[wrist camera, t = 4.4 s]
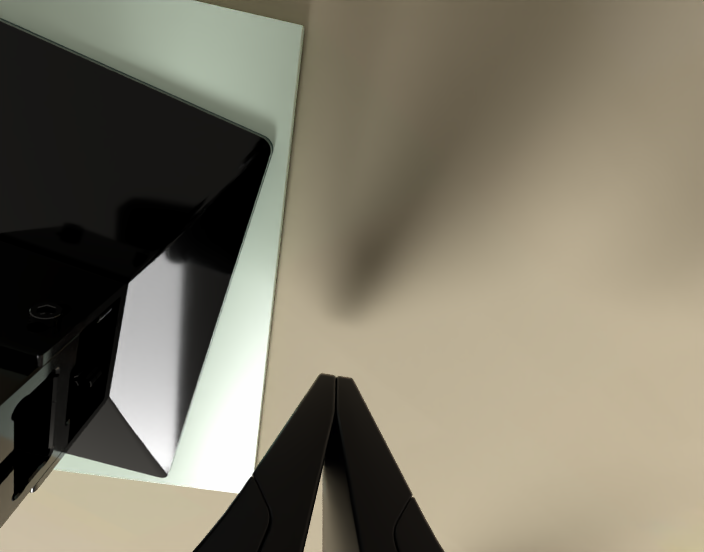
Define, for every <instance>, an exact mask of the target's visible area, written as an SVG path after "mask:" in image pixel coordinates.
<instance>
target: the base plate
mask: <svg viewBox="0 0 704 552" xmlns="http://www.w3.org/2000/svg"><path fill="white" fill-rule="evenodd" d="M0 18H3V19H5V20H7V21H9V22H12V23H14V24H16V25H18V26H20V27H23V28H25V29H27V30H29V31H32V32H34V33H36V34H38V35H41V36H43V37H45V38H47V39H50V40H52V41H54V42H56V43H59V44H61V45H63V46H65V47H68V48H70V49H72V50H74V51H76V52H79V53H81V54H83V55H85V56H88V57H90V58H92V59H94V60H97V61H99V62H101V63H103V64H106V65H108V66H110V67H112V68H115V69H117V70H119V71H121V72H123V73H126V74H128V75H130V76H132V77H135V78H137V79H139V80H141V81H144V82H146V83H148V84H150V85H153V86H155V87H157V88H159V89H162V90H164V91H166V92H168V93H170V94H173V95H175V96H177V97H179V98H182V99H184V100H186V101H188V102H191V103H193V104H195V105H197V106H200V107H202V108H204V109H206V110H209V111H211V112H213V113H215V114H218V115H220V116H222V117H224V118H226V119H229V120H231V121H233V122H235V123H238V124H240V125H242V126H244V127H247V128H249V129H251V130H253V131H256V132H258V133H260V134H262V135H265V136H266V137H268V138H269V139H270V140H271V142H272V144H273V148H274V149H273V154H272V157H271V160H270V164H269V167H268V170H267V173H266V176H265V179H264V182H263V185H262V188H261V191H260V195H259V198H258V201H257V204H256V207H255V210H254V213H253V216H252V219H251V222H250V226H249V229H248V232H247V235H246V238H245V241H244V244H243V247H242V250H241V253H240V257H239V260H238V263H237V266H236V269H235V272H234V275H233V278H232V281H231V284H230V288H229V291H228V294H227V297H226V300H225V303H224V306H223V309H222V312H221V315H220V319H219V322H218V325H217V328H216V331H215V334H214V337H213V340H212V343H211V346H210V350H209V353H208V356H207V359H206V362H205V365H204V368H203V371H202V374H201V377H200V381H199V384H198V387H197V390H196V393H195V396H194V399H193V402H192V405H191V408H190V412H189V415H188V418H187V421H186V424H185V427H184V430H183V433H182V436H181V439H180V443H179V446H178V449H177V452H176V455H175V458H174V461H173V464H172V467H171V470H170V472H169V474H168V476H167V477H165V478H159V477H155V476H151V475H147V474H143V473H139V472H135V471H132V470H128V469H124V468H120V467H116V466H112V465H108V464H105V463H101V462H97V461H93V460H89V459H85V458H81V457H78V456H74V455H70V454H65V455H64V456H63V458H62V459H61V460H60V461H59V463H58V464H57V465H56V466H55V468H54V469H53V470H59V471H67V472H75V473H82V474H90V475H98V476H106V477H114V478H122V479H129V480H137V481H145V482H153V483H161V484H169V485H176V486H184V487H192V488H200V489H208V490H216V491H223V492H231V493H239V492H240V491H241V489H242V488H243V486H244V485H245V483H246V482H247V481H248V479H249V478H250V477H251V476H252V474H253V472H254V471H255V466H256V457H257V448H258V439H259V430H260V421H261V412H262V403H263V394H264V385H265V376H266V368H267V359H268V350H269V341H270V332H271V323H272V314H273V305H274V296H275V287H276V278H277V269H278V260H279V251H280V242H281V233H282V224H283V215H284V206H285V197H286V188H287V179H288V170H289V161H290V152H291V143H292V134H293V126H294V117H295V108H296V99H297V90H298V81H299V72H300V63H301V54H302V45H303V36H304V27H303V25H299V24H294V23H290V22H286V21H281V20H277V19H273V18H268V17H264V16H260V15H255V14H251V13H247V12H242V11H238V10H234V9H229V8H225V7H221V6H216V5H212V4H208V3H203V2H199V1H195V0H0Z"/></svg>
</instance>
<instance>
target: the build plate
mask: <svg viewBox="0 0 704 552" xmlns="http://www.w3.org/2000/svg"><path fill="white" fill-rule="evenodd" d="M273 149H274V148H273V144H272V142H271V140H270V139H269V138H268V137H266V136H265V135H262V134H260V133H258V132H256V131H253V130H251V129H249V128H247V127H244V126H242V125H240V124H238V123H235V122H233V121H231V120H229V119H226V118H224V117H222V116H220V115H218V114H215V113H213V112H211V111H209V110H206V109H204V108H202V107H200V106H197V105H195V104H193V103H191V102H188V101H186V100H184V99H182V98H179V97H177V96H175V95H173V94H170V93H168V92H166V91H164V90H162V89H159V88H157V87H155V86H153V85H150V84H148V83H146V82H144V81H141V80H139V79H137V78H135V77H132V76H130V75H128V74H126V73H123V72H121V71H119V70H117V69H115V68H112V67H110V66H108V65H106V64H103V63H101V62H99V61H97V60H94V59H92V58H90V57H88V56H85V55H83V54H81V53H79V52H76V51H74V50H72V49H70V48H68V47H65V46H63V45H61V44H59V43H56V42H54V41H52V40H50V39H47V38H45V37H43V36H41V35H38V34H36V33H34V32H32V31H29V30H27V29H25V28H23V27H20V26H18V25H16V24H14V23H12V22H9V21H7V20H5V19H3V18H0V528H1V527H2V526H3V524H4V523H5V522H6V521H7V519H8V518H9V517H10V516H11V514H12V513H13V512H14V511H15V509H16V508H17V507H18V506H19V504H20V503H21V502H22V501H23V499H24V498H25V497H26V496H27V494H28V493H29V492H35V491H36V490H37V489H38V488H39V487H40V485H41V484H42V483H43V482H44V480H45V479H46V478H47V477H48V475H49V474H50V473H51V471H52V470H53V469H54V468H55V466H56V465H57V464H58V463H59V461H60V460H61V459H62V458H63V456H64V455H65V454H70V455H74V456H78V457H81V458H85V459H89V460H93V461H97V462H101V463H105V464H108V465H112V466H116V467H120V468H124V469H128V470H132V471H135V472H139V473H143V474H147V475H151V476H155V477H159V478H165V477H167V476H168V474H169V472H170V470H171V467H172V464H173V461H174V458H175V455H176V452H177V449H178V446H179V443H180V439H181V436H182V433H183V430H184V427H185V424H186V421H187V418H188V415H189V412H190V408H191V405H192V402H193V399H194V396H195V393H196V390H197V387H198V384H199V381H200V377H201V374H202V371H203V368H204V365H205V362H206V359H207V356H208V353H209V350H210V346H211V343H212V340H213V337H214V334H215V331H216V328H217V325H218V322H219V319H220V315H221V312H222V309H223V306H224V303H225V300H226V297H227V294H228V291H229V288H230V284H231V281H232V278H233V275H234V272H235V269H236V266H237V263H238V260H239V257H240V253H241V250H242V247H243V244H244V241H245V238H246V235H247V232H248V229H249V226H250V222H251V219H252V216H253V213H254V210H255V207H256V204H257V201H258V198H259V195H260V191H261V188H262V185H263V182H264V179H265V176H266V173H267V170H268V167H269V164H270V160H271V157H272V154H273Z"/></svg>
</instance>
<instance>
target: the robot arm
mask: <svg viewBox="0 0 704 552" xmlns="http://www.w3.org/2000/svg"><path fill="white" fill-rule="evenodd" d="M322 469H323V552H444V550H443V549H442V547H441V545H440V544H439V542H438V540H437V539H436V537H435V535H434V533H433V532H432V530H431V528H430V526H429V524H428V523H427V521H426V519H425V517H424V515H423V513H422V512H421V510H420V508H419V506H418V504H417V502H416V500H415V498H414V497H412V492H411V490H410V488H409V487H408V485H407V483H406V481H405V479H404V477H403V475H402V473H401V471H400V469H399V467H398V465H397V463H396V461H395V459H394V457H393V456H392V454H391V452H390V450H389V448H388V446H387V444H386V442H385V440H384V438H383V436H382V434H381V432H380V430H379V428H378V427H377V425H376V423H375V421H374V419H373V417H372V415H371V413H370V411H369V409H368V407H367V405H366V403H365V401H364V399H363V398H362V396H361V394H360V392H359V390H358V388H357V386H356V384H355V382H354V380H353V379H352V378H349V377H343V376H338V377H335V376H334V375H330V374H323V373H321V374H320V375H319V376H318V377H317V379H316V380H315V382H314V383H313V385H312V386H311V388H310V389H309V391H308V392H307V394H306V395H305V396H304V398H303V399H302V401H301V402H300V404H299V405H298V407H297V408H296V410H295V411H294V413H293V414H292V416H291V417H290V419H289V420H288V422H287V423H286V425H285V426H284V428H283V429H282V431H281V432H280V433H279V435H278V436H277V438H276V439H275V441H274V442H273V444H272V445H271V447H270V448H269V450H268V451H267V453H266V454H265V456H264V457H263V459H262V460H261V462H260V463H259V465H258V466H257V468H256V469H255V471H254V472H253V474H252V476H251V477H250V478H249V479H248V481H247V482H246V483H245V485H244V486H243V488H242V489H241V491H240V492H239V494H238V495H237V496H236V498H235V499H234V501H233V502H232V503H231V505H230V506H229V508H228V509H227V510H226V512H225V513H224V514H223V516H222V517H221V518H220V519H219V520H218V522H217V523H216V524H215V525H214V527H213V528H212V529H211V530H210V532H209V533H208V534H207V535H206V537H205V538H204V539H203V540H202V541H201V542H200V544H199V545H198V546H197V547H196V548H195V549H194V551H193V552H303V551H304V547H305V542H306V538H307V534H308V529H309V525H310V521H311V516H312V512H313V508H314V504H315V499H316V495H317V491H318V486H319V482H320V478H321V473H322Z"/></svg>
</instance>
